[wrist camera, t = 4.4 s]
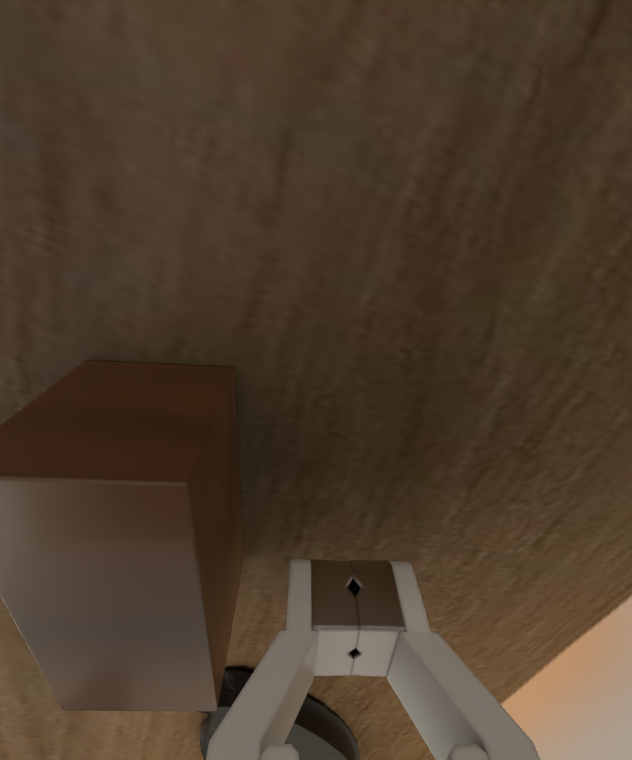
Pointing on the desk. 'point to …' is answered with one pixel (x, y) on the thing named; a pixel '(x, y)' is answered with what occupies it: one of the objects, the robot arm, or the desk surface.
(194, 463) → the walnut block
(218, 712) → the fan shaped piece
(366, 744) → the desk surface
